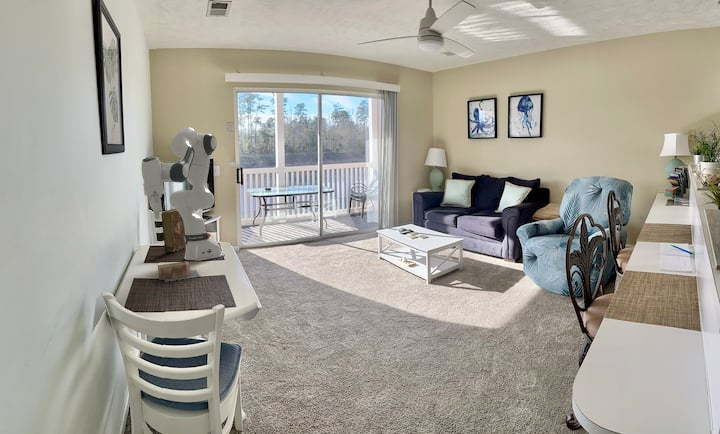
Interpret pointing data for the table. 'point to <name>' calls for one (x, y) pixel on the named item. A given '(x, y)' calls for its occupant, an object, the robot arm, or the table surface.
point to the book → (173, 230)
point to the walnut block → (173, 270)
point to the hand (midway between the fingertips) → (157, 218)
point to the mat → (192, 275)
